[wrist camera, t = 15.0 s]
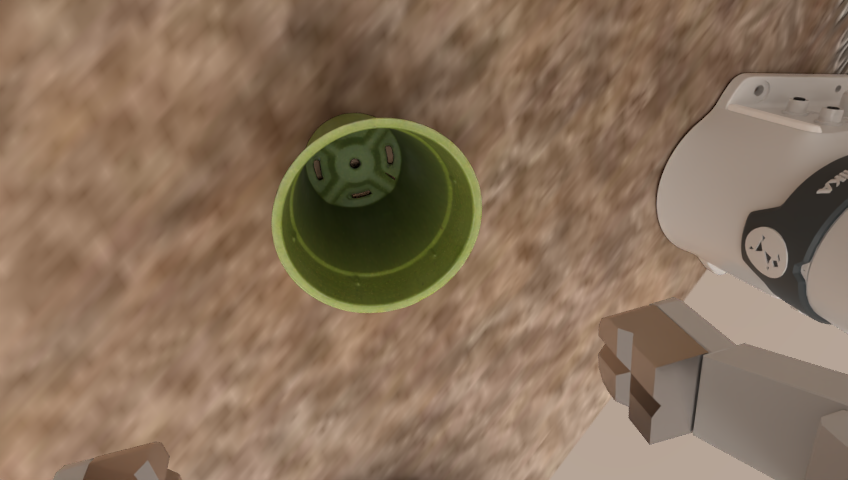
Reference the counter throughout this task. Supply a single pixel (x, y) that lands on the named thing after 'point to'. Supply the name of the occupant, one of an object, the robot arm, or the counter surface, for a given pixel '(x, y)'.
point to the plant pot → (376, 214)
